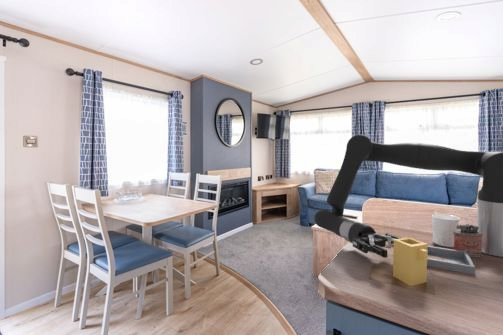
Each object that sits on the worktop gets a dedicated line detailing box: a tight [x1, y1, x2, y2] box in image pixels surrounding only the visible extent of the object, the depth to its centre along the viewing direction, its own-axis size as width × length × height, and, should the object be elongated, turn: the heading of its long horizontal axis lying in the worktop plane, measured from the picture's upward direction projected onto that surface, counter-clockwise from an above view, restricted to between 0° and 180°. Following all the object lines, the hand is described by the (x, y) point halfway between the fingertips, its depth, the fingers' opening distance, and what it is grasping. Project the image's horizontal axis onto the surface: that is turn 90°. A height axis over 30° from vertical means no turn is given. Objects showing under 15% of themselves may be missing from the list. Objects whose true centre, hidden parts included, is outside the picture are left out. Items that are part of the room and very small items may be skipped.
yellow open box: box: [392, 236, 429, 286], centre depth 63 cm, size 7×5×10 cm
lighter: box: [453, 223, 483, 258], centre depth 79 cm, size 8×3×10 cm, turn 84°
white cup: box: [431, 213, 461, 248], centre depth 89 cm, size 8×8×10 cm
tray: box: [427, 245, 476, 276], centre depth 73 cm, size 12×12×3 cm
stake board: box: [368, 244, 436, 295], centre depth 65 cm, size 14×11×10 cm
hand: (398, 251), depth 67 cm, fingers open, 8 cm apart
